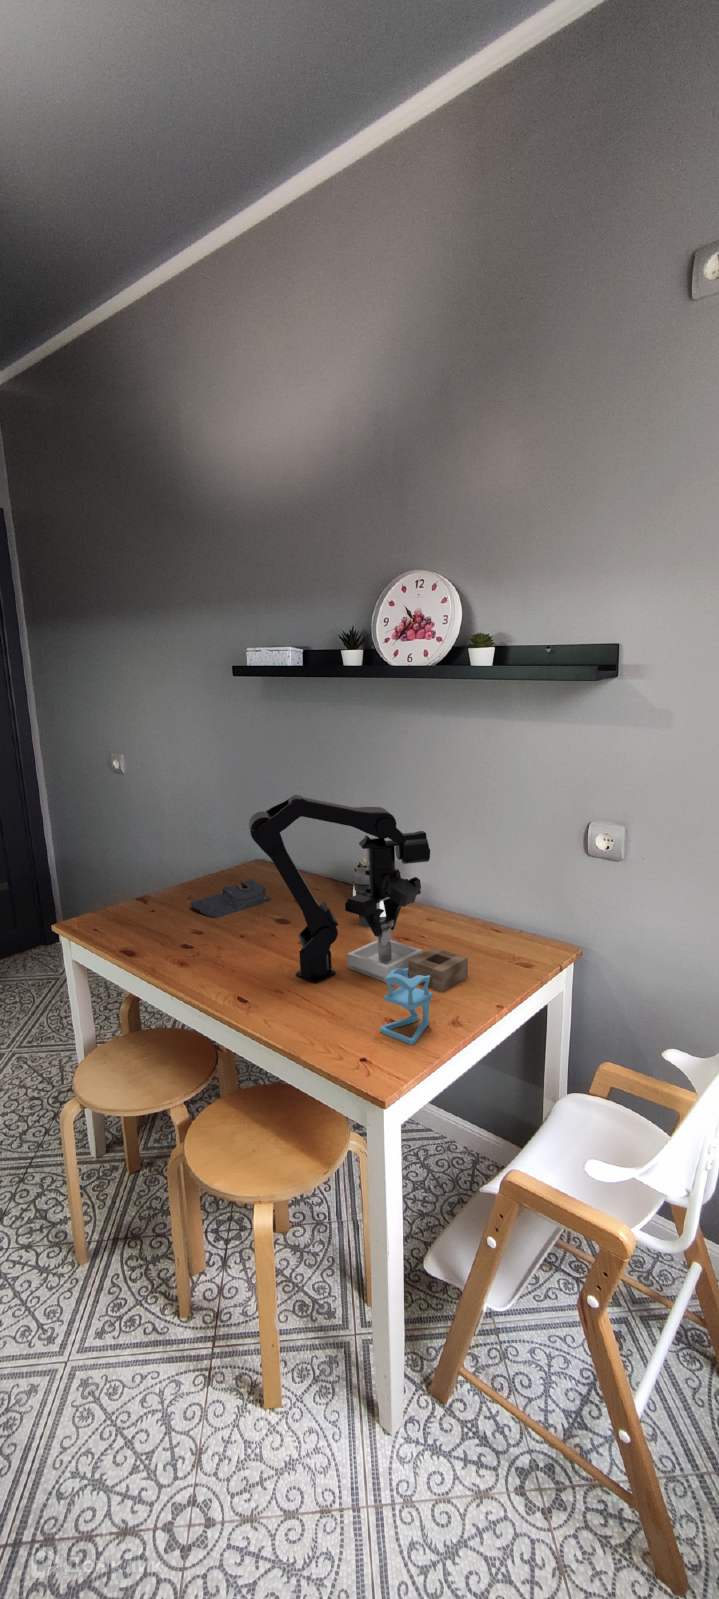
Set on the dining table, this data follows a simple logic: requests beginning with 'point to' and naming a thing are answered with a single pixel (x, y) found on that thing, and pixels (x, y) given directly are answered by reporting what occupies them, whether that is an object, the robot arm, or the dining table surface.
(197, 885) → the dining table surface
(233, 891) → the grey stepped plate
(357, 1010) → the dining table surface
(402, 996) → the chair
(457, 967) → the block
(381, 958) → the lock pin
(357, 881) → the beverage cup
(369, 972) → the tray
